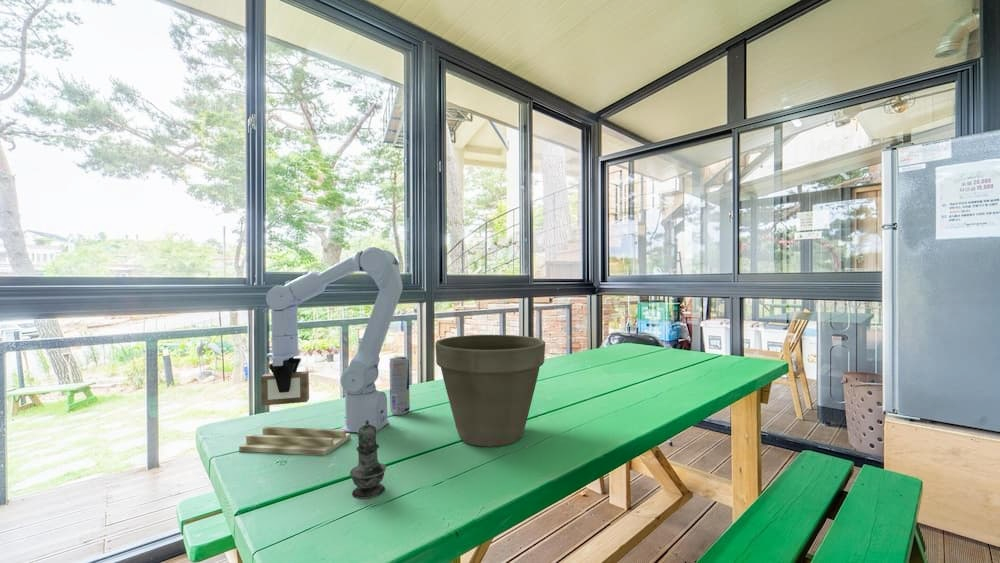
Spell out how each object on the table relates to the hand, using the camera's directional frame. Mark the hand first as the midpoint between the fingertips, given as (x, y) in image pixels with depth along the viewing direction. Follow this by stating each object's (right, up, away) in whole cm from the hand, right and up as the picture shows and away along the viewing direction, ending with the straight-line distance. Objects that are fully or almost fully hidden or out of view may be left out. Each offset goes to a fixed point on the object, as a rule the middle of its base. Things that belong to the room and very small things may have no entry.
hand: (286, 390), depth 104 cm
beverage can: (+26, -9, +11) cm, 29 cm away
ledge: (+8, -9, -11) cm, 16 cm away
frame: (0, -3, 0) cm, 3 cm away
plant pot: (+51, -8, -8) cm, 52 cm away
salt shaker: (+30, -9, -33) cm, 46 cm away
